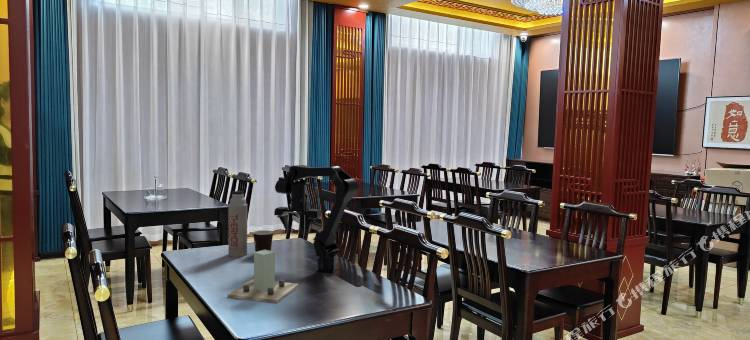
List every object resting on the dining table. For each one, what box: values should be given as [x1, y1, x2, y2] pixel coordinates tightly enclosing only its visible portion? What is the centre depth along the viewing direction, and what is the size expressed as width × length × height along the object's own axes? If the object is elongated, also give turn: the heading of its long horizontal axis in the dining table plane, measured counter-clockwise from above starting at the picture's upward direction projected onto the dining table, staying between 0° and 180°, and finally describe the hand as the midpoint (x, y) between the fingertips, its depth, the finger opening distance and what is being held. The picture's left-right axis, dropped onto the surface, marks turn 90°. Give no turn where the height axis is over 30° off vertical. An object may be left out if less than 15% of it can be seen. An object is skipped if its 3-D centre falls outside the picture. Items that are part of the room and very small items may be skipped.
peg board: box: [227, 278, 299, 304], centre depth 183 cm, size 18×18×3 cm
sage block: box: [253, 250, 276, 292], centre depth 183 cm, size 5×5×13 cm
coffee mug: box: [252, 229, 274, 252], centre depth 234 cm, size 12×9×10 cm
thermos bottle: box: [227, 190, 248, 258], centre depth 231 cm, size 8×8×28 cm
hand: (297, 232), depth 219 cm, fingers open, 9 cm apart
